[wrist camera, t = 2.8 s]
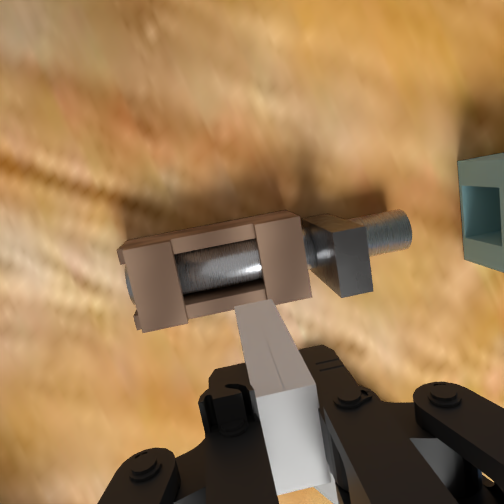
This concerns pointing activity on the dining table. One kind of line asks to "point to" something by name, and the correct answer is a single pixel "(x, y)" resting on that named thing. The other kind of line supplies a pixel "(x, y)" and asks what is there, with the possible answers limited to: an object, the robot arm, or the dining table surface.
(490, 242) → the socket
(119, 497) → the robot arm
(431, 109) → the dining table surface
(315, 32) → the dining table surface
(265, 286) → the sleeve
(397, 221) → the rod
